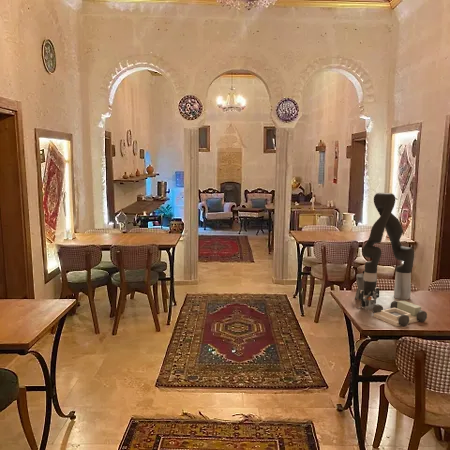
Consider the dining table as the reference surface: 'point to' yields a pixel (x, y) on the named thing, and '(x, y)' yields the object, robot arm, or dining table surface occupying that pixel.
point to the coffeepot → (359, 284)
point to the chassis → (400, 313)
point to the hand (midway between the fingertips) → (368, 305)
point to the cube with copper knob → (369, 303)
